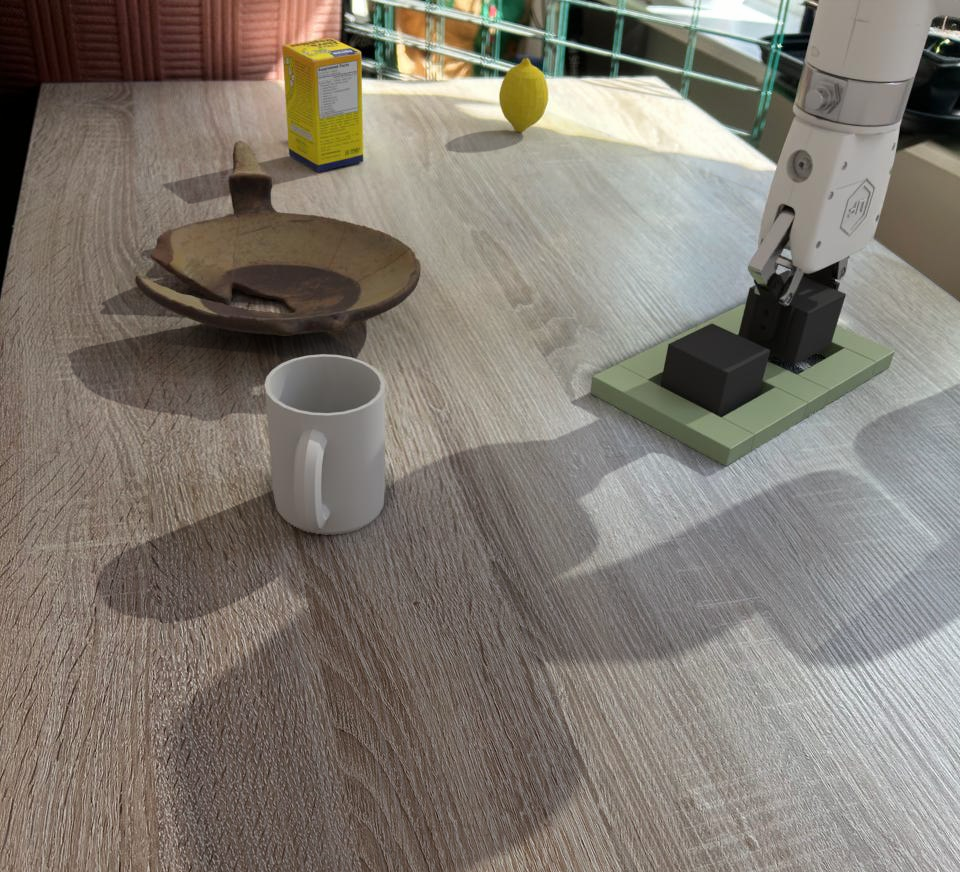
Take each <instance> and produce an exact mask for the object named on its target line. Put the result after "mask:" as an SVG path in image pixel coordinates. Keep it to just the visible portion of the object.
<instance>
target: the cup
mask: <svg viewBox="0 0 960 872" xmlns="http://www.w3.org/2000/svg"><path fill="white" fill-rule="evenodd" d="M264 396H265V409H266V421H267V432H268V443H269V456H270V457H269V458H270V468H271V481H272V493H273V498H274V503H275V509H276V511H277V512H278V514H279V515H280V516H281V517H282V519H283V520H284V521H285V522H287V523H288V524H289V523H290V524H289V525H291V526H292V525H293V526H292V527H294V528H295V527H296V529H298V528H299V529H298V530H300V529H301V530H300V531H302V530H303V532H305V531H306V532H305V533H309V532H311V533H310V534H313V533H316V534H315V535H318V534H322V535H321V536H338V535H344V534H345V535H346V534H350V533H353V532H355V531H359V530H361V529H363V528H364V527H366V526H368V525H370V524H371V523H372V522H373V521H374V520H375V519H376V518H377V517H378V516H379V515H380V513H381V511H382V510H383V508H384V505H385V493H386V381H385V379H384V377H383V374H382V373H381V372H380V371H379V370H377V368H376V367H375V366H372V365H371V364H369V363H367V362H366V361H363V360H360V359H357V358H354V357H350V356H345V355H339V354H325V353H323V354H322V353H321V354H310V355H304V356H300V357H295V358H292V359H289V360H287V361H284V362H282V363H280V364H278V365H277V366H276V367H274V368H273V369H271V371H270V372H269V374H267V376H266V377H265V382H264ZM323 534H324V535H323ZM329 534H330V535H329ZM337 534H338V535H337Z"/></svg>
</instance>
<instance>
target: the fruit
mask: <svg viewBox="0 0 960 872" xmlns="http://www.w3.org/2000/svg"><path fill="white" fill-rule="evenodd" d="M498 95H499V96H498V97H499V99H498V100H499V106H500V109H501V112H502V114H503V116H504V118H505V119H506V121H508V123H510V124H511V126H512V128H513V130H514V131H516V132H517V133H523V132H525V131H526V130H527V129H528V128H530V127H532V126H534V125H535V124H536V123H538V122H539V121H540V120H541V119H542V117H543V115H544V114H545V112H546V109H547V106H548V102H549V88H548V83H547V80H546V77H545V75H544V72H542V70H540V68H538V67H537V66H534V65H533V64H532V63H531V60H530V59H529V58H528V56H526V57H524V58H523V59H522V60H521V61H520V63H518V64H516V65H514V66H513V67H511V68H509V70H508V71H507V73H506V74H505V76H504V78H503V80H502V82H501V85H500V89H499V94H498Z"/></svg>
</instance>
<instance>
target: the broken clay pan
mask: <svg viewBox="0 0 960 872" xmlns="http://www.w3.org/2000/svg"><path fill="white" fill-rule="evenodd" d="M232 165H233V167H232V173H231V174H230V175H229V177H228V181H227V182H228V188H229V194H230V197H231V207H232V210H233V213H228V214H227V215H224V216H220V217H216V218H211V219H206V220H201V221H195V222H192V223H188V224H185V225H182V226H180V227H176V228H172V229H169V230H167V231H165V232H163V233H162V234H160V235H159V236H158V237H157V240H156V245H155V247H154V248H153V250H152V251H150V253H149V257H150V258H151V259H152V260H153V261H154V262H156V263H157V264H158V265H159V266H160V267H161V268H162V269H164V270H165V271H166V272H168V273H169V274H172V275H173V276H174V277H176V278H177V279H178V280H179V281H181V282H182V283H184V284H186V285H187V286H189V287H190V288H191V290H195V291H196V292H197V293H200V294H202V295H203V296H204V297H206V298H201V297H196V296H193V295H191V294H190V295H189V294H184V293H180V292H177V291H176V290H174V289H171V288H169V287H166V286H162V285H161V284H158V283H156V282H154V281H152V280H150V279H148V278H147V277H144V276H141V275H135V277H134V279H135V280H134V282H135V285H136V286H137V287H138V289H139V290H140V291H141V292H142V294H143V295H145V296H146V297H147V298H148V299H149V300H151V301H153V302H155V303H156V304H158V305H159V306H160V307H162V308H165V309H166V310H169V311H170V312H173V313H175V314H177V315H180V316H182V317H184V318H186V319H189V320H192V321H195V322H197V323H200V324H203V325H207V326H210V327H213V328H217V329H223V330H227V331H232V332H239V333H247V334H256V335H257V334H259V335H270V336H271V335H273V336H274V335H275V336H282V337H286V336H287V337H289V336H290V337H291V336H295V335H306V334H315V333H323V332H338V331H341V330H343V329H344V328H346V327H350V326H353V325H357V324H359V323H362V322H364V321H367V320H370V319H374V318H375V317H377V316H379V315H382V314H384V313H387V312H388V311H390V310H392V309H394V308H395V307H398V306H399V305H400V304H402V303H403V302H404V301H406V300H407V299H408V297H409V296H410V295H411V294H413V292H414V291H415V289H416V288H417V286H418V284H419V281H420V277H421V262H420V259H419V258H416V254H415V252H414V251H413V249H412V247H409V246H408V245H407V244H405V243H404V242H402V241H401V240H399V238H396V237H394V236H392V235H391V234H388V233H386V232H383V231H381V230H379V229H374V228H372V227H368V226H365V225H361V224H357V223H353V222H349V221H347V220H340V219H338V218H332V217H327V216H320V215H317V214H316V215H314V214H301V213H292V212H279V211H277V210H276V209H275V208H274V206H273V204H272V189H273V180H272V179H273V178H272V176H271V175H270V174H267V173H265V172H264V171H263V169H262V167H261V166H260V165H259V162H258V160H257V158H256V156H255V153H254V151H253V150H252V148H251V146H250V145H249V144H248V143H246V142H245V141H243V140H238V141H237V142H236V143H234V146H233V151H232ZM233 289H235V290H238V291H241V292H243V293H244V294H246V295H249V296H255V297H258V298H259V297H260V298H264V299H268V300H276V301H278V302H282V303H284V304H285V306H286V307H287V308H289V309H290V311H291V312H273V311H270V310H269V311H263V310H255V309H251V310H249V309H248V308H246V307H245V308H244V307H240V306H233V305H231V302H232V298H233Z"/></svg>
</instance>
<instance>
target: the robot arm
mask: <svg viewBox="0 0 960 872" xmlns="http://www.w3.org/2000/svg"><path fill="white" fill-rule="evenodd" d="M942 16H943V17H950V18H957V19H960V0H818V2H817V7H816V12H815V16H814V20H813V25H812V27H811V32H810V36H809V41H808V45H807V49H806V53H805V57H804V60H803V64H802V68H801V72H800V77H799V81H798V86H797V89H796V94H795V98H794V102H793V106H792V112H793V114H794V115H795V116H794V117H793V120H792V122H791V125H790V128H789V129H788V133H787V136H786V138H785V140H784V144H783V147H782V150H781V153H780V156H779V159H778V161H777V165H776V169H775V170H774V174H773V178H772V181H771V185H770V187H769V191H768V195H767V198H766V202H765V206H764V210H763V214H762V218H761V222H760V227H759V232H758V237H757V238H758V239H757V249H756V251H755V253H754V254H753V256H752V257H751V259H750V261H749V263H748V265H747V271H748V272H749V274H750V275H751V277H752V279H753V283H754V286H755V285H756V287H755V294H757V297H756V301H755V305H754V309H753V313H752V317H751V321H750V325H749V329H748V333H747V338H748V339H749V340H750V341H752V342H754V343H756V344H759V345H761V346H763V347H765V348H767V349H769V350H771V351H774V352H776V353H778V352H780V351H782V350H783V349H784V347H785V343H786V340H787V336H788V332H789V329H790V325H791V321H792V318H793V314H794V311H795V307H796V304H793V303H791V301H792V299H793V297H794V295H795V292H796V290H797V288H798V285H799V283H800V281H801V278H802V276H804V277H807V278H809V279H811V280H814V281H816V282H818V283H821V284H823V285H826V286H828V287H830V288H833V289H835V290H838V291H839V289H840V285H841V282H840V281H842V280H843V278H844V277H845V275H846V273H847V270H848V262H849V258H850V257H851V256H853V255H855V254H857V253H859V252H860V251H862V250H864V249H865V248H867V247H868V246H869V245H870V244H871V242H872V241H873V239H874V238H875V234H876V231H877V228H878V225H879V221H880V217H881V213H882V210H883V206H884V202H885V198H886V195H887V192H888V188H889V184H890V180H891V174H892V171H893V168H894V167H893V166H894V162H895V159H896V158H895V157H896V153H897V148H898V141H899V134H900V128H901V124H902V121H903V117H904V114H905V111H906V108H907V104H908V101H909V98H910V95H911V91H912V88H913V85H914V82H915V78H916V74H917V72H918V68H919V66H920V61H921V58H922V55H923V52H924V49H925V46H926V42H927V39H928V36H929V32H930V29H931V26H932V23H933V20H934V19H936V18H937V17H942ZM784 250H787V251H789V252H790V255H791V256H790V257H791V258H789V257H787V256H784V255H782V254H783V252H784ZM779 266H780V267H783V268H785V269H787V270H790V274H789V276H788V278H787V281H786V283H785V284H784V282H783V279H782V277H781V275H779V274H780V273H777V269H778V267H779Z"/></svg>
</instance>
